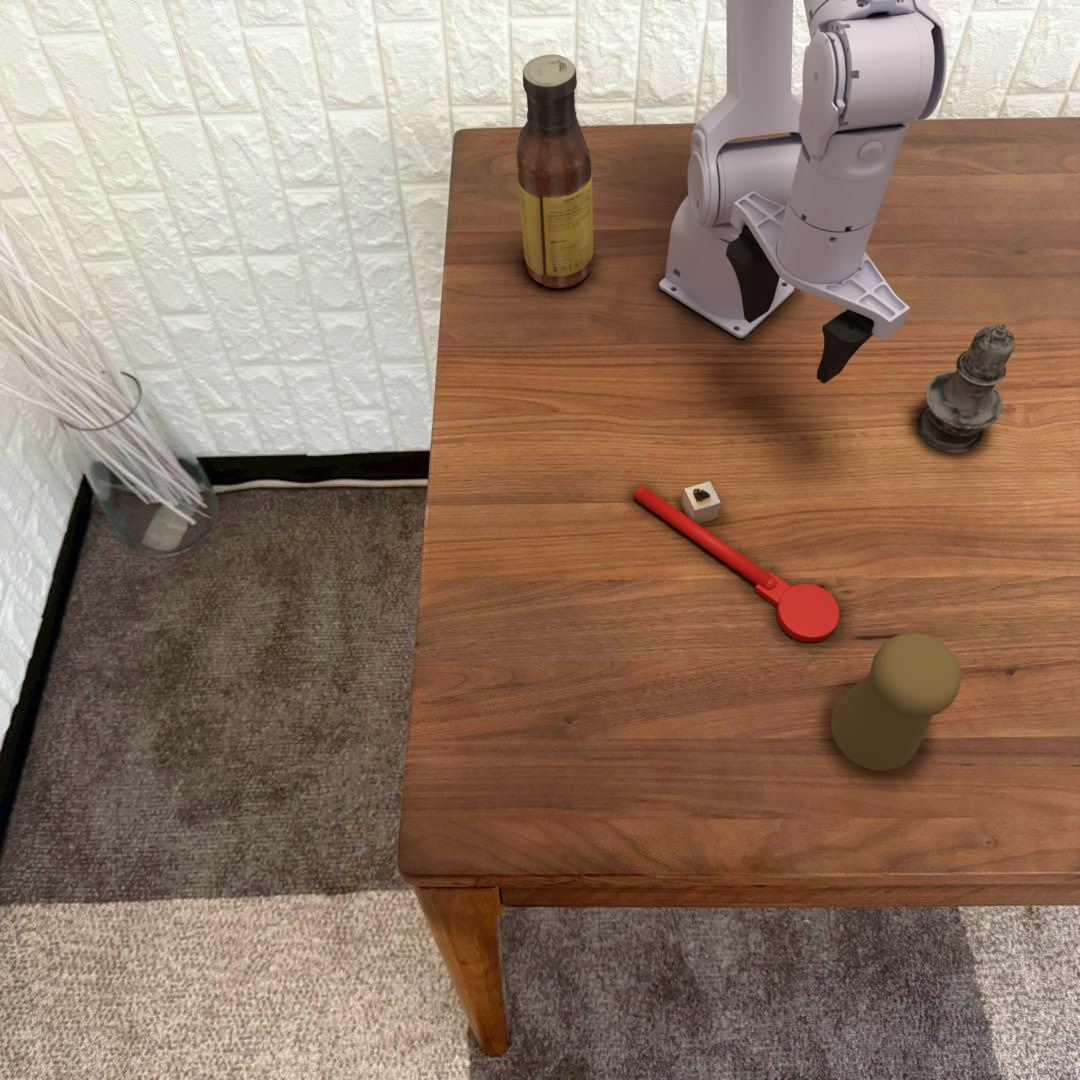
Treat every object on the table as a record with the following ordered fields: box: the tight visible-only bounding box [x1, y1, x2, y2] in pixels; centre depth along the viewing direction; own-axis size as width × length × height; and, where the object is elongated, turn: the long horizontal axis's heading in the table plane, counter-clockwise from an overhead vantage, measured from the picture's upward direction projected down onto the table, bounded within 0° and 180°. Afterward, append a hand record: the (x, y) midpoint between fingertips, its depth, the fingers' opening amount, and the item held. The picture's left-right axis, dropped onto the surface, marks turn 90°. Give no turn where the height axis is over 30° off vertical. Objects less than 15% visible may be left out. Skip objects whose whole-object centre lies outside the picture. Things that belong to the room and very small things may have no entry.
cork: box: [830, 632, 963, 772], centre depth 65 cm, size 6×6×11 cm
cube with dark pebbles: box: [681, 481, 722, 525], centre depth 78 cm, size 2×2×2 cm
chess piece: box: [915, 323, 1016, 454], centre depth 78 cm, size 6×6×12 cm
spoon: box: [634, 486, 840, 643], centre depth 76 cm, size 18×4×1 cm, turn 48°
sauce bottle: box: [515, 53, 594, 289], centre depth 84 cm, size 6×6×20 cm
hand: (792, 344), depth 77 cm, fingers open, 7 cm apart
